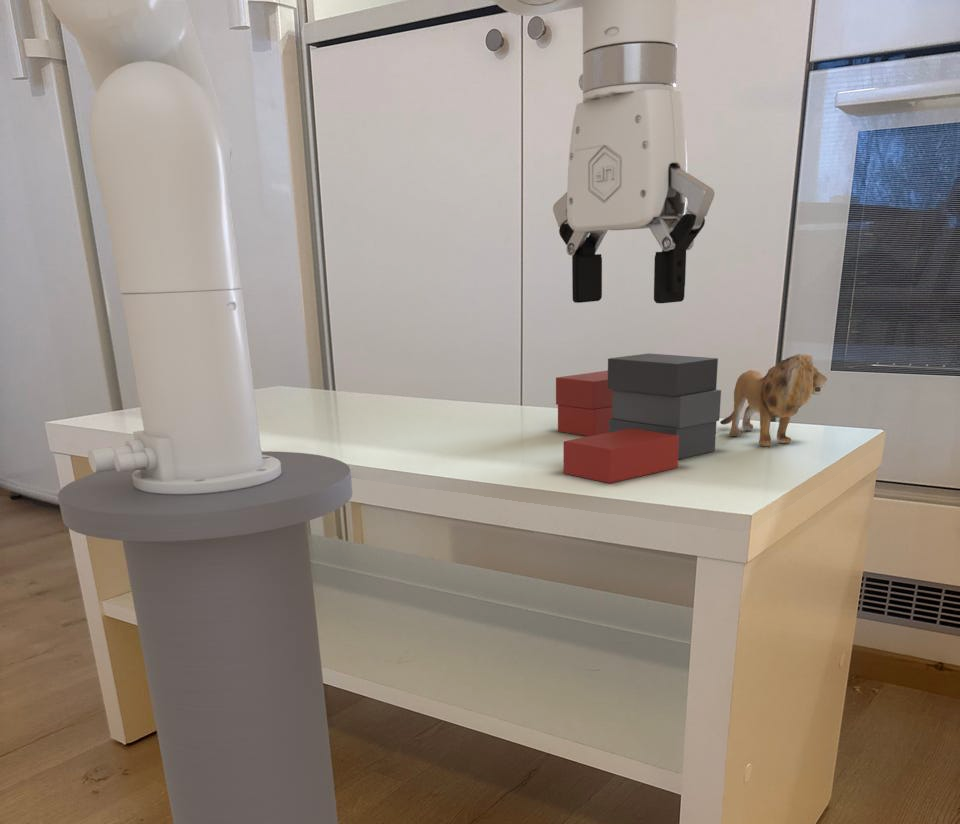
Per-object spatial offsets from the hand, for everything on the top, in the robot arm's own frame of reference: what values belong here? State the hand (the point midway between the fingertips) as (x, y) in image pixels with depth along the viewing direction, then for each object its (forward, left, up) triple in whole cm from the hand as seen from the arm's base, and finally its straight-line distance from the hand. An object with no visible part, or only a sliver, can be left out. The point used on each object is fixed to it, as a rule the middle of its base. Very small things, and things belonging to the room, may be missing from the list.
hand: (626, 301), depth 83 cm
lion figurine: (+21, -1, -15) cm, 26 cm away
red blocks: (+14, +16, -15) cm, 26 cm away
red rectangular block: (-1, -1, -15) cm, 15 cm away
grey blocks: (+9, +3, -15) cm, 18 cm away
